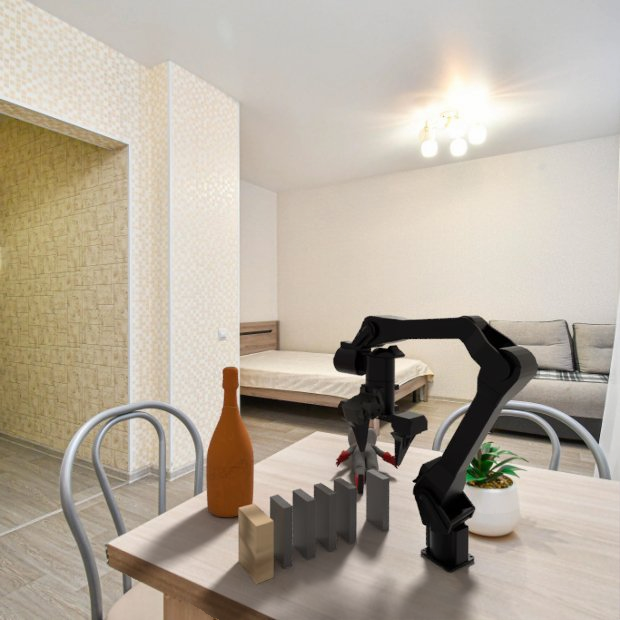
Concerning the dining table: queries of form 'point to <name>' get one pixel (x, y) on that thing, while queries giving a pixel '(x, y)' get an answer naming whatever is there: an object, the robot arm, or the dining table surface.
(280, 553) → the tile
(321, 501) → the tile
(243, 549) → the end block
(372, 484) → the tile
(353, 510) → the tile
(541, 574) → the dining table surface
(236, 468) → the wine bottle
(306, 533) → the tile
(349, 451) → the toy
